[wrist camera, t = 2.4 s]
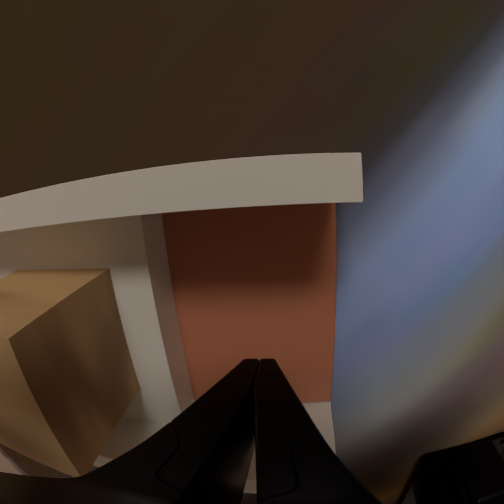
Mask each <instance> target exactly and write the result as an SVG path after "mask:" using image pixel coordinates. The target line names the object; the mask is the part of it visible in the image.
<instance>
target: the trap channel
mask: <svg viewBox="0 0 504 504" xmlns="http://www.w3.org/2000/svg"><path fill="white" fill-rule="evenodd" d="M339 202H363V183H362V160H361V153H315V154H291V155H273V156H258V157H244V158H233V159H222V160H211V161H202V162H193V163H184V164H176V165H168V166H161V167H154V168H147V169H140V170H133V171H127V172H121V173H115V174H109V175H103V176H98V177H92V178H87V179H82V180H77V181H72V182H67V183H62V184H57V185H53V186H48V187H44V188H39V189H35V190H31V191H27V192H23V193H19V194H15V195H11V196H7V197H3V198H0V278H2V277H4V276H6V275H8V274H10V273H12V272H14V271H16V270H51V269H98V268H109V269H110V274H111V279H112V283H113V288H114V293H115V297H116V302H117V306H118V310H119V314H120V318H121V322H122V326H123V330H124V334H125V338H126V342H127V345H128V349H129V352H130V356H131V359H132V363H133V366H134V369H135V373H136V376H137V379H138V382H139V385H140V389H139V391H138V392H137V394H136V396H135V397H134V399H133V400H132V402H131V404H130V405H129V407H128V408H127V410H126V412H125V413H124V415H123V416H122V418H121V420H120V421H119V423H118V424H117V426H116V428H115V429H114V431H113V433H112V434H111V436H110V437H109V439H108V441H107V442H106V444H105V446H104V447H103V449H102V450H101V452H100V454H99V455H98V457H97V459H96V460H95V462H94V464H93V466H97V467H101V466H103V465H105V464H106V463H108V462H110V461H112V460H113V459H115V458H117V457H119V456H120V455H122V454H124V453H126V452H127V451H129V450H131V449H132V448H134V447H135V446H137V445H139V444H140V443H142V442H143V441H145V440H146V439H148V438H149V437H150V436H152V435H153V434H155V433H156V432H157V431H159V430H160V429H161V428H162V427H164V426H165V425H166V424H167V423H169V422H171V420H173V419H174V418H175V417H176V416H178V415H179V414H180V413H181V412H182V411H184V410H185V409H186V408H187V407H189V406H190V405H191V404H192V403H193V402H195V401H196V400H197V399H198V398H199V397H201V396H202V395H203V394H204V393H205V392H206V391H208V390H209V389H210V388H211V387H212V386H213V385H215V384H216V383H217V382H218V381H219V380H220V379H222V378H223V377H224V376H225V375H226V374H227V373H228V372H230V371H231V370H232V369H233V368H234V367H235V366H236V365H238V364H239V363H240V362H241V361H242V360H243V359H246V358H252V359H259V360H260V359H262V358H274V359H275V360H276V361H277V363H278V365H279V366H280V368H281V370H282V371H283V373H284V375H285V376H286V378H287V380H288V381H289V383H290V385H291V386H292V388H293V390H294V391H295V393H296V394H297V396H298V398H299V399H300V401H301V403H302V404H303V406H304V407H305V409H306V411H307V412H308V414H309V416H310V417H311V419H312V420H313V422H314V424H315V425H316V427H317V428H318V430H319V431H320V433H321V434H322V436H323V438H324V439H325V441H326V442H327V443H328V445H329V446H330V448H331V449H332V450H333V452H334V453H335V454H336V450H335V440H334V431H333V422H332V413H331V405H330V400H331V388H332V374H333V359H334V340H335V316H336V203H339ZM243 493H255V494H257V491H256V459H255V448H254V452H253V456H252V460H251V464H250V468H249V472H248V476H247V480H246V484H245V488H244V492H243Z"/></svg>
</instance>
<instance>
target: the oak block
mask: <svg viewBox="0 0 504 504" xmlns="http://www.w3.org/2000/svg"><path fill="white" fill-rule="evenodd" d="M139 389H140V385H139V382H138V379H137V376H136V373H135V369H134V366H133V363H132V359H131V356H130V352H129V349H128V345H127V342H126V338H125V334H124V330H123V326H122V322H121V318H120V314H119V310H118V306H117V302H116V297H115V293H114V288H113V283H112V279H111V274H110V269H109V268H98V269H51V270H16V271H14V272H12V273H10V274H8V275H6V276H4V277H2V278H0V443H1V444H3V445H5V446H7V447H9V448H11V449H12V450H14V451H16V452H18V453H20V454H22V455H24V456H27V457H29V458H31V459H33V460H35V461H37V462H39V463H42V464H44V465H46V466H49V467H51V468H53V469H56V470H58V471H61V472H63V473H66V474H68V475H71V476H73V477H79V476H82V475H85V474H87V473H88V472H89V470H90V469H91V467H92V465H93V464H94V462H95V460H96V459H97V457H98V455H99V454H100V452H101V450H102V449H103V447H104V446H105V444H106V442H107V441H108V439H109V437H110V436H111V434H112V433H113V431H114V429H115V428H116V426H117V424H118V423H119V421H120V420H121V418H122V416H123V415H124V413H125V412H126V410H127V408H128V407H129V405H130V404H131V402H132V400H133V399H134V397H135V396H136V394H137V392H138V391H139Z"/></svg>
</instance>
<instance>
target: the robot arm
mask: <svg viewBox="0 0 504 504" xmlns="http://www.w3.org/2000/svg"><path fill="white" fill-rule="evenodd" d="M254 448H255V459H256V491H257V504H383V503H382V502H381V501H379V500H378V499H377V498H376V497H375V496H374V495H373V494H372V493H371V492H370V491H369V490H368V489H367V488H366V487H365V486H364V485H363V484H362V483H361V482H360V480H359V479H358V478H357V477H356V476H355V475H354V474H353V473H352V472H351V471H350V470H349V469H348V468H347V467H346V466H345V465H344V463H343V462H342V461H341V460H340V459H339V458H338V456H337V455H336V454H335V453H334V452H333V450H332V449H331V448H330V446H329V445H328V443H327V442H326V441H325V439H324V438H323V436H322V434H321V433H320V431H319V430H318V428H317V427H316V425H315V424H314V422H313V420H312V419H311V417H310V416H309V414H308V412H307V411H306V409H305V407H304V406H303V404H302V403H301V401H300V399H299V398H298V396H297V394H296V393H295V391H294V390H293V388H292V386H291V385H290V383H289V381H288V380H287V378H286V376H285V375H284V373H283V371H282V370H281V368H280V366H279V365H278V363H277V361H276V360H275V359H274V358H262V359H260V360H259V359H252V358H246V359H243V360H242V361H241V362H240V363H239V364H238V365H236V366H235V367H234V368H233V369H232V370H231V371H230V372H228V373H227V374H226V375H225V376H224V377H223V378H222V379H220V380H219V381H218V382H217V383H216V384H215V385H213V386H212V387H211V388H210V389H209V390H208V391H206V392H205V393H204V394H203V395H202V396H201V397H199V398H198V399H197V400H196V401H195V402H193V403H192V404H191V405H190V406H189V407H187V408H186V409H185V410H184V411H182V412H181V413H180V414H179V415H178V416H176V417H175V418H174V419H173V420H171V422H169V423H167V424H166V425H165V426H164V427H162V428H161V429H160V430H159V431H157V432H156V433H155V434H153V435H152V436H150V437H149V438H148V439H146V440H145V441H143V442H142V443H140V444H139V445H137V446H135V447H134V448H132V449H131V450H129V451H127V452H126V453H124V454H122V455H120V456H119V457H117V458H115V459H113V460H112V461H110V462H108V463H106V464H105V465H103V466H101V467H99V468H97V469H95V470H94V471H92V472H90V473H87V474H85V475H82V476H79V477H74V478H48V477H36V476H27V475H18V474H11V473H3V472H0V504H241V500H242V496H243V492H244V488H245V484H246V480H247V476H248V472H249V468H250V464H251V460H252V456H253V452H254ZM503 448H504V432H502V433H500V434H497V435H494V436H491V437H488V438H485V439H482V440H478V441H475V442H472V443H469V444H465V445H462V446H458V447H454V448H450V449H447V450H442V451H438V452H434V453H430V454H427V455H425V456H423V457H422V458H421V460H420V461H419V464H418V466H417V468H416V470H415V472H414V474H413V476H412V478H411V481H410V483H409V485H408V487H407V489H406V490H405V492H404V494H403V496H402V498H401V500H400V502H399V504H504V462H503V460H502V458H501V456H500V453H501V451H502V449H503Z"/></svg>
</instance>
